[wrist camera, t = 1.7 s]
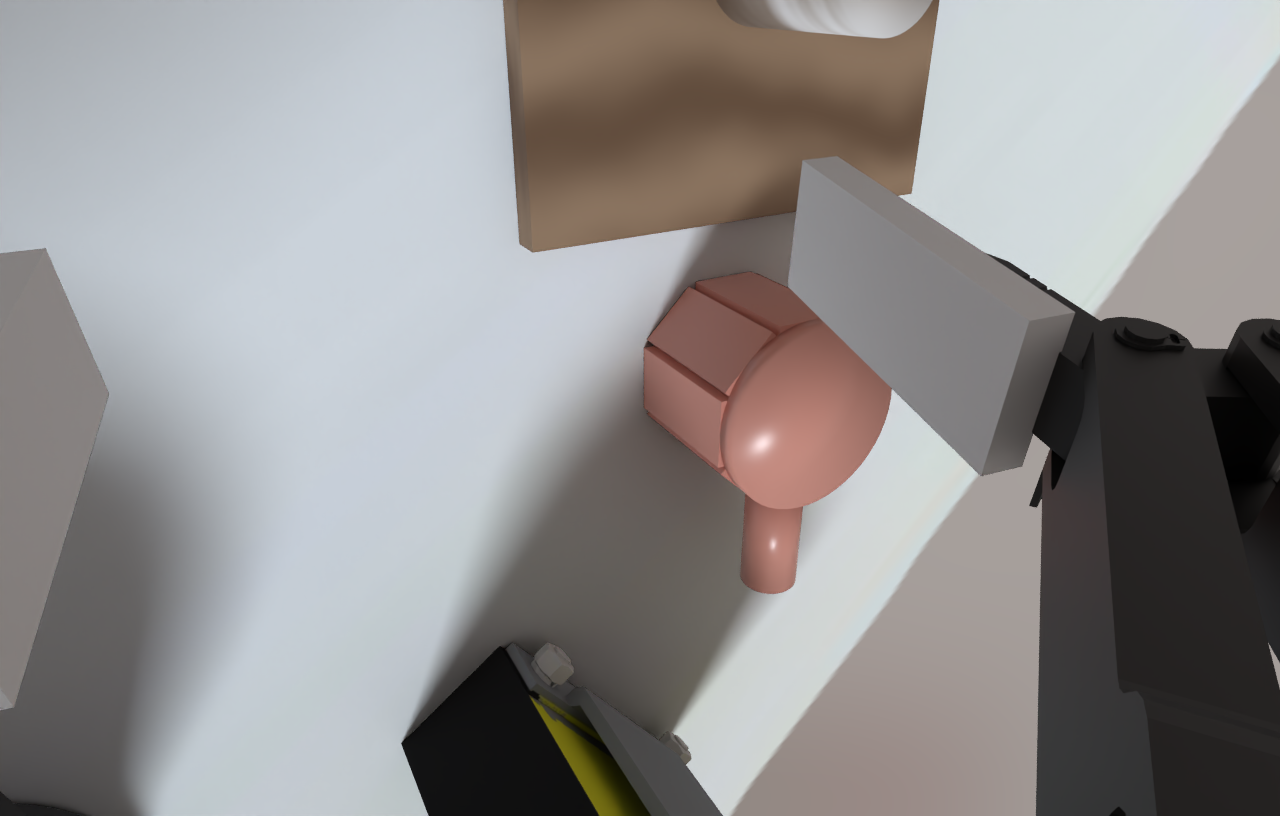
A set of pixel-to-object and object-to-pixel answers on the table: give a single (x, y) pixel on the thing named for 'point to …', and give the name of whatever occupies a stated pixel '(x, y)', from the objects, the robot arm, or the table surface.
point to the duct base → (704, 107)
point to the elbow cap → (763, 407)
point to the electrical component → (545, 749)
